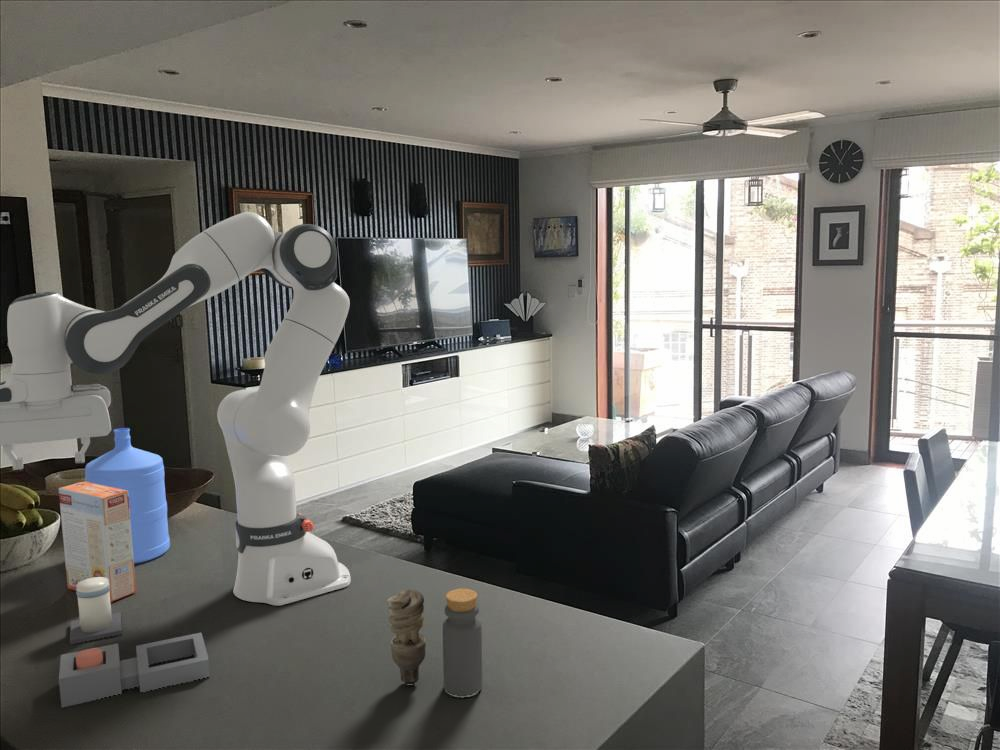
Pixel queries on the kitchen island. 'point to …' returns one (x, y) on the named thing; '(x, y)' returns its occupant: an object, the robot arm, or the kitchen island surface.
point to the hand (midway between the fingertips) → (49, 465)
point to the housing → (133, 669)
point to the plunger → (89, 658)
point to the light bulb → (407, 633)
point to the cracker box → (97, 536)
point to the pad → (81, 636)
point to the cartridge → (94, 604)
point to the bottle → (462, 643)
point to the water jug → (136, 492)
